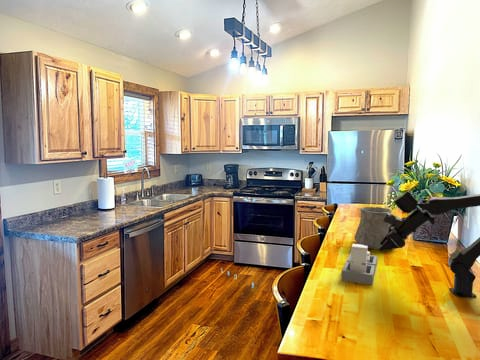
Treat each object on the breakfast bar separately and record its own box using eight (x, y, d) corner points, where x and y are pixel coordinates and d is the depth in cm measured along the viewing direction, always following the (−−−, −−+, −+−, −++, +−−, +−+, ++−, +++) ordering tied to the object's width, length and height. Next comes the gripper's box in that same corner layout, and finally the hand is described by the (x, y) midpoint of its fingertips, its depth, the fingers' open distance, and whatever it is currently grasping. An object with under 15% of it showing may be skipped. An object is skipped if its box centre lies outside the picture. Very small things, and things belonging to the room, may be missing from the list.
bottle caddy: (376, 264, 159) (377, 250, 158) (372, 285, 137) (373, 268, 136) (350, 261, 163) (350, 246, 163) (341, 280, 141) (342, 263, 140)
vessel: (375, 239, 200) (377, 203, 197) (405, 250, 179) (407, 211, 176) (342, 242, 193) (343, 206, 191) (368, 255, 172) (370, 214, 170)
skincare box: (349, 275, 144) (350, 246, 142) (350, 271, 148) (352, 243, 146) (365, 277, 141) (366, 248, 140) (366, 274, 145) (367, 245, 144)
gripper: (397, 202, 144) (367, 226, 150) (396, 210, 127) (362, 237, 133) (418, 223, 141) (386, 246, 147) (420, 234, 124) (384, 260, 130)
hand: (380, 247), depth 139 cm, fingers open, 9 cm apart
